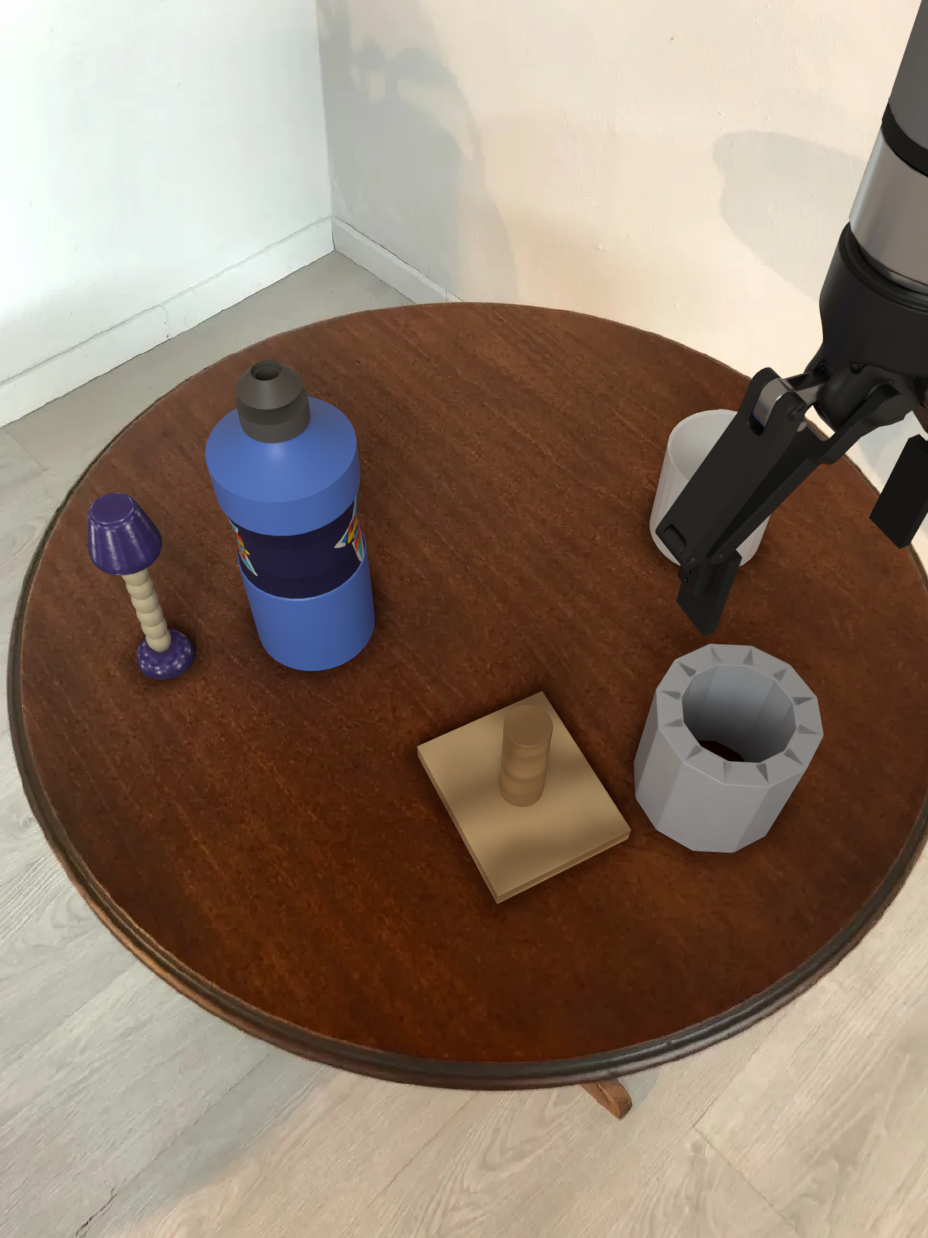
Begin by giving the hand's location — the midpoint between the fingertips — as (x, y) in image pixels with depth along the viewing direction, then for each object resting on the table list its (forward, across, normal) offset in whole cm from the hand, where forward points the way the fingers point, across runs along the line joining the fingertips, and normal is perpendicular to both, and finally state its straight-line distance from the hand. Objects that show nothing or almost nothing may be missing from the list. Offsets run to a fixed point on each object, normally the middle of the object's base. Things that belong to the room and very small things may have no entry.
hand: (794, 573), depth 58 cm
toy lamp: (+19, +34, -24) cm, 45 cm away
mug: (+19, -10, -17) cm, 28 cm away
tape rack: (+19, +16, -2) cm, 24 cm away
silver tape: (+19, +4, +3) cm, 19 cm away
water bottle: (+19, +22, -22) cm, 37 cm away
